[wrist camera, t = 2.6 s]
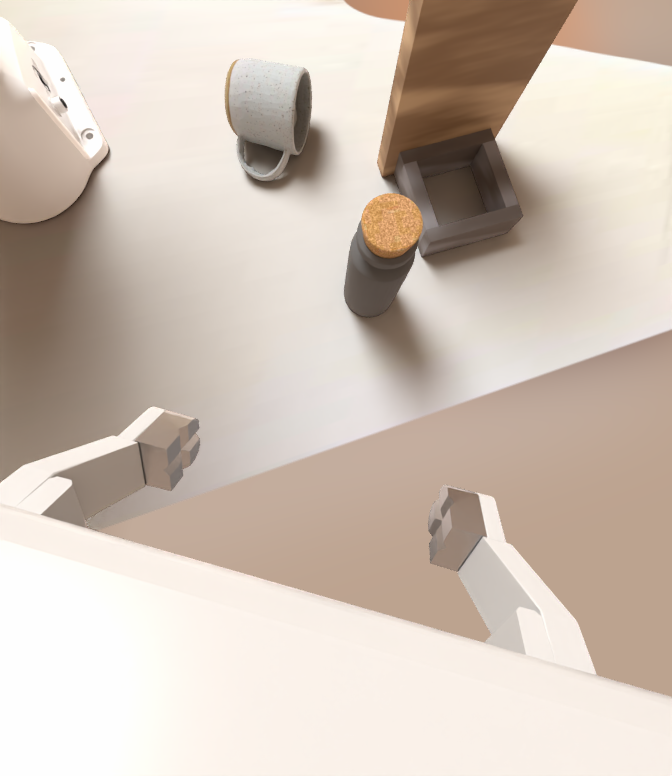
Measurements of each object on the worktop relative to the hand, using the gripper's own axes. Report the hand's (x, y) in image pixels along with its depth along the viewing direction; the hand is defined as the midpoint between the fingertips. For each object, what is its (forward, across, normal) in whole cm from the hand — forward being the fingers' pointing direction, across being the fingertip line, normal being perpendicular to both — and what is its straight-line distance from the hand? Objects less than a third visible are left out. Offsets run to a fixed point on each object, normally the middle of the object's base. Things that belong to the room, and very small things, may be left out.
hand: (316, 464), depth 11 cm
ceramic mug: (+42, +16, -8) cm, 46 cm away
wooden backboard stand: (+42, -6, -6) cm, 43 cm away
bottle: (+33, +1, +5) cm, 33 cm away
